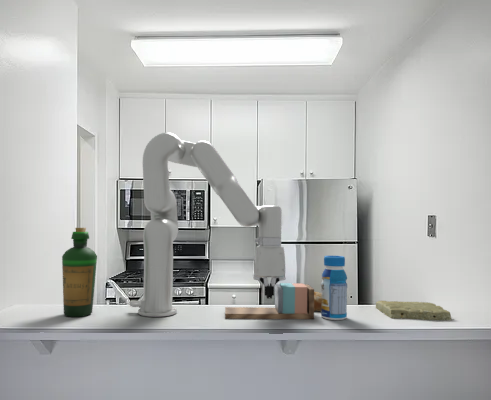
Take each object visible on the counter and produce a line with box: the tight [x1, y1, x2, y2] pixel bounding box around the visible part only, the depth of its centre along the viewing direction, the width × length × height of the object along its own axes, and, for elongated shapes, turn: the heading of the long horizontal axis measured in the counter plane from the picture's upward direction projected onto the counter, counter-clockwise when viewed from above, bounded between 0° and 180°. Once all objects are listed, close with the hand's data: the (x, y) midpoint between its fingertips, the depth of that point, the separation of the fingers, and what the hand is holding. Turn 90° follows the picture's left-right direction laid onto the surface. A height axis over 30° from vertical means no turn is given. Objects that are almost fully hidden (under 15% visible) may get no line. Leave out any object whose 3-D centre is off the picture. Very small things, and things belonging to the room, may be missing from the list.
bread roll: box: [314, 291, 322, 312], centre depth 156 cm, size 10×10×8 cm
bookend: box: [274, 283, 283, 313], centre depth 144 cm, size 2×9×8 cm, turn 2°
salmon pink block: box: [291, 282, 307, 314], centre depth 145 cm, size 4×8×8 cm, turn 3°
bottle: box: [61, 227, 98, 318], centre depth 141 cm, size 11×11×28 cm
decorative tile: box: [375, 300, 452, 321], centre depth 150 cm, size 19×20×4 cm
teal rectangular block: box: [279, 282, 295, 314], centre depth 144 cm, size 4×8×8 cm, turn 3°
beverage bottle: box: [320, 255, 348, 321], centre depth 142 cm, size 8×8×20 cm
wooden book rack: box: [224, 283, 315, 320], centre depth 144 cm, size 28×10×10 cm, turn 93°
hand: (269, 297), depth 144 cm, fingers closed
